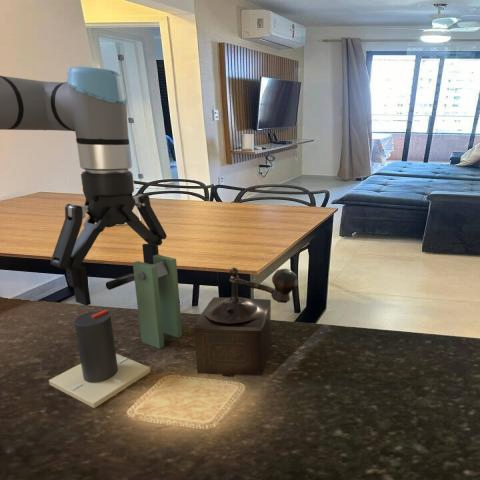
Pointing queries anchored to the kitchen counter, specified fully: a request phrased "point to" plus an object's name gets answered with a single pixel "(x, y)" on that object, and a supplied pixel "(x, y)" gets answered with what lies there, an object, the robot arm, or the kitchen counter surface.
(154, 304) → the green lever stand
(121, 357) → the dial panel
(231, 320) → the coffee grinder
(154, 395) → the kitchen counter surface
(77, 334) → the cylinder
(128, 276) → the dark grey lever
